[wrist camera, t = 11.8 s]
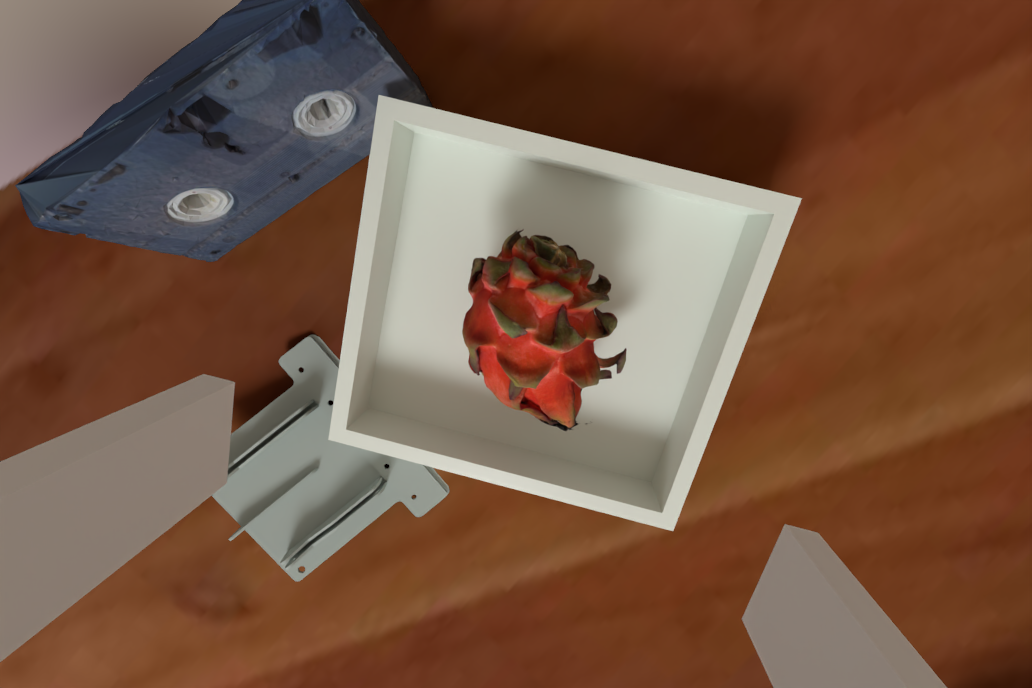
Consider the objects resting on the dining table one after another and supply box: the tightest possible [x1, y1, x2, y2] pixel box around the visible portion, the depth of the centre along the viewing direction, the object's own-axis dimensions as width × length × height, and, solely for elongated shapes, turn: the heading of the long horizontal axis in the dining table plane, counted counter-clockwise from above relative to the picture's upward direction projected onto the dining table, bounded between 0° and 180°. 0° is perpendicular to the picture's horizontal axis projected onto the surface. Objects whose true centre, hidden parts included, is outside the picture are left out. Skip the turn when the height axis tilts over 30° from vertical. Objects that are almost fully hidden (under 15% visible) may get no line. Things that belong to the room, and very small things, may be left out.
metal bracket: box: [212, 335, 449, 581], centre depth 34 cm, size 14×6×15 cm
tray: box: [328, 95, 802, 531], centre depth 29 cm, size 22×20×4 cm
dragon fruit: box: [462, 229, 627, 431], centre depth 27 cm, size 8×8×12 cm
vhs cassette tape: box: [15, 0, 432, 262], centre depth 25 cm, size 18×3×10 cm, turn 119°
